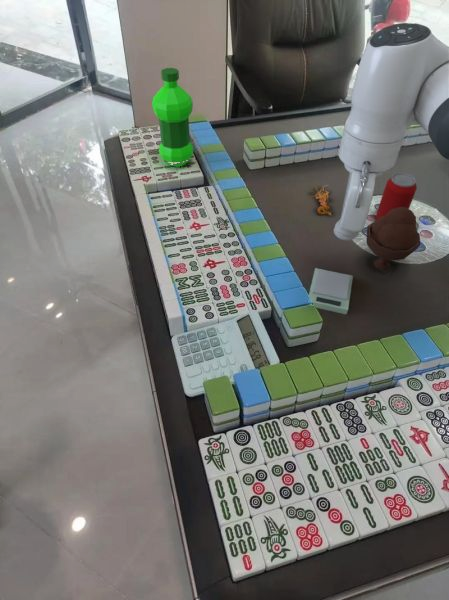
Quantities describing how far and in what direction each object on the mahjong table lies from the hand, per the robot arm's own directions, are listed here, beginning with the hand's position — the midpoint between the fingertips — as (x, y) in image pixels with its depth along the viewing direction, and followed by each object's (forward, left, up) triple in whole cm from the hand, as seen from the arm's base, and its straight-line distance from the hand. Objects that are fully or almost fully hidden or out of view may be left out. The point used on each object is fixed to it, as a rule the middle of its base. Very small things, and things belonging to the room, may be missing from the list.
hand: (349, 220), depth 76 cm
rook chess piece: (0, 0, -3) cm, 3 cm away
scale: (0, +1, -19) cm, 19 cm away
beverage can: (-11, -29, -19) cm, 37 cm away
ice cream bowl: (-10, -11, -19) cm, 24 cm away
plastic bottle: (+49, -39, -19) cm, 66 cm away
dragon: (+6, -31, -19) cm, 37 cm away
